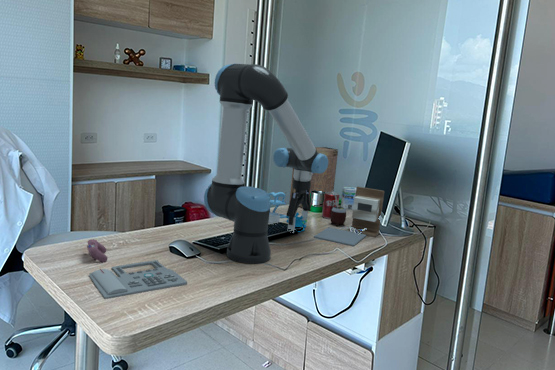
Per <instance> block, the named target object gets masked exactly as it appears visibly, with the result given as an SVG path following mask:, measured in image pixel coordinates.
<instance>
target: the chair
mask: <svg viewBox="0 0 555 370" xmlns="http://www.w3.org/2000/svg"><path fill="white" fill-rule="evenodd" d="M267 193H268V194H269V196H270V206H271V205H273V206H275V207H274V209H273V210H272V211H271V212H273V213H276V211H277V210H278V208H279V206H280V205H286V204H287V203H286V202H285V199H286V194H285V193H284V192H283V191H279V192H275V191H272V192H267ZM271 196H272V197H273V198H274V199H271ZM279 197H281V198H282V200H280V199H279ZM278 214H280V219H287V218H286V215H287V214H281V213H278Z"/></svg>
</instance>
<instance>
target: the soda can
mask: <svg viewBox="0 0 555 370" xmlns="http://www.w3.org/2000/svg"><path fill="white" fill-rule="evenodd" d="M333 192H334V193H335V195H336V196H337V204H338V206H340V205H339V204H340V203H339V201H340V193H338V192H335V191H333ZM333 192H325V194H324V202H323V205H322V213H321V216H322V218H323V219H327V220H331V211H332V208H333V207H337V205H336V199H335V195H334V193H333Z"/></svg>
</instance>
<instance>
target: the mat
mask: <svg viewBox="0 0 555 370" xmlns="http://www.w3.org/2000/svg"><path fill="white" fill-rule="evenodd" d="M366 237H367V235H365V234H359V235H358V234H355V233H353V232H350V231H348V230H345V229H339V228H337V227H336V228H335V227H330V226H328V227H326V228H325V229H323V230H322V231H319V232H318V233H317V234H314V235H313V238H314V239H318V240H322V241H327V242H330V243H331V242H332V243H335V244H342V245H346V246H350V247H355V246H356V245H357V244H359V243H360V242H361V241H362V240H363V239H365V238H366Z"/></svg>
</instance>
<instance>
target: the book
mask: <svg viewBox="0 0 555 370" xmlns="http://www.w3.org/2000/svg"><path fill="white" fill-rule="evenodd" d="M315 148H316V150H317V152H318V153H321V154H324V155H326V156H327V158H328V167H327V169H326V170H325V172H323V173H321V174H319V173H313V175H312V176H311V180H310V181H311V187H310V193H311V191H314V190H316V191H322V192H332V191H333V192H335V191H334V190H335V189H334V188H335V180H336V172H337V164H338V155H339V154H338V153H339V149H336V148H333V147H332V148H331V147H327V146H325V147H324V146H321V147H315ZM291 172H292V173H291V182H290V193H289V200H288V201H289V204H290V200H291V196H292V193H295V191H296V189H294V188H293V187H292V186H293V180H294V178H293V175H294V168H292V171H291ZM289 204H288V205H289ZM299 207H301V208H302V204H299Z"/></svg>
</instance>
